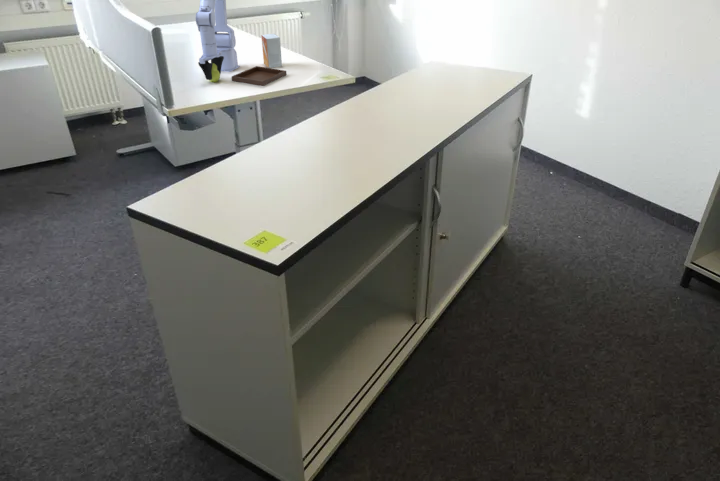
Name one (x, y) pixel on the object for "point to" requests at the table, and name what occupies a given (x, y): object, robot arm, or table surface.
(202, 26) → the robot arm
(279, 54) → the small box
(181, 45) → the table surface
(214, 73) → the pear
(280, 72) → the tray
